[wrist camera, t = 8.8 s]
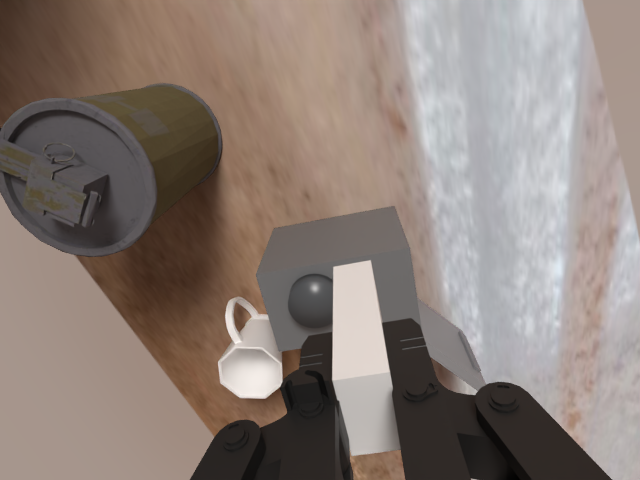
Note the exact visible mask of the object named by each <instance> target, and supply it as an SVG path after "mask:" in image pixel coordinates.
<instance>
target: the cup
mask: <svg viewBox="0 0 640 480" xmlns="http://www.w3.org/2000/svg"><path fill="white" fill-rule="evenodd" d="M236 302H237V303H238V304H240V305H241V306H243V307H244V308H245V309H246V310H247V311H248V312H249V313H250V314H251V316H252V318H250V319H249V320H248V321H247V322H246V324H245V327H244V328H243V329H242V330H241V331H240V332H238V331H237V329H236V327H235V324H234V316H233V312H234V306H235V303H236ZM225 318H226V326H227V329H228V332H229V334H230V336H231V338H232V342H231V343H230V345H229V346H228V348H227V349H226V351H225V352H224V354H223V355H222V357H221V358H220V360H219V361H218V366H219V375H220V383H221V384H222V385H224V386H225V387H226V388H227V389H229V390H230V391H231V392H233V393H234V394H235V395H237V396H238V397H239V398H257V399H266V398H267V397H268V396H269V395H271V394H272V393H273V392H274V391H276V390H277V389H278V388H279V387H280V386H281V384H282V381H283V375H282V351H281V352H279V351H278V348H277V344H276V341H275V338H274V334H273V331H272V328H271V324H270V321H269V317H268V314H258V312H257V310H256V309H255V308H254V307H253V306H252V305H251V304H250V303H249V302H248V301H246V300H245V299H244V298H242V297H235V298H232V299H231V300H230V301H228V304H227V307H226V314H225Z"/></svg>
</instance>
